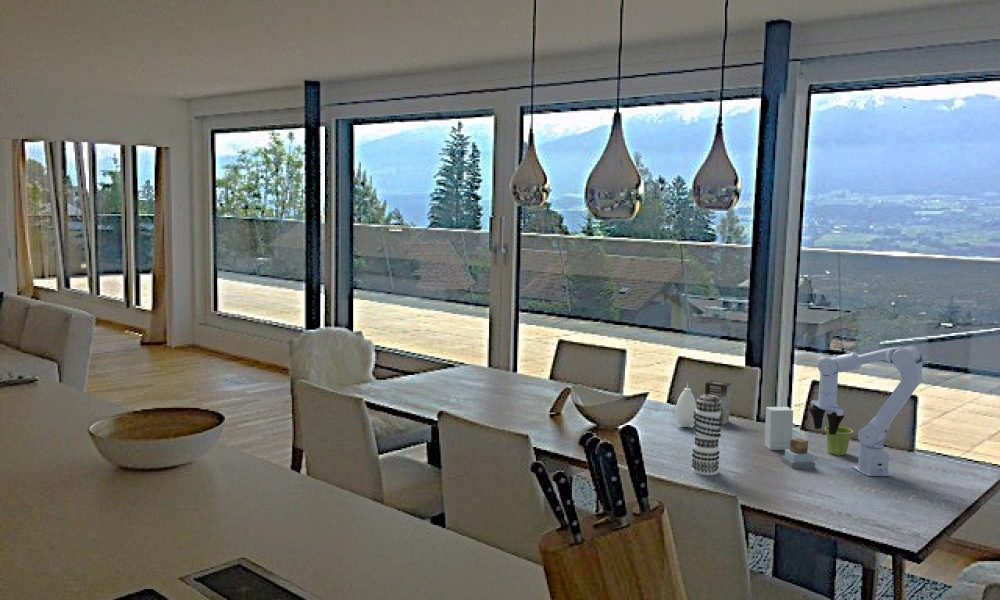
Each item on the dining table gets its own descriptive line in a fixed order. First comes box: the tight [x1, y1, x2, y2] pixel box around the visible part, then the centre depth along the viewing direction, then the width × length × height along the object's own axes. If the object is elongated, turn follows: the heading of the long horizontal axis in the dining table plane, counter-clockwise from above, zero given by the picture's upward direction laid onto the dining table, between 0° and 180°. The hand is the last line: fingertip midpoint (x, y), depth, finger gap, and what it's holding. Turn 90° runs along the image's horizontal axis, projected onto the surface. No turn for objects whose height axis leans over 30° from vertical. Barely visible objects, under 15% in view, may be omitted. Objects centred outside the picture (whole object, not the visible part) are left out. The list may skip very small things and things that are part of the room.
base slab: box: [780, 455, 816, 469], centre depth 285 cm, size 8×8×2 cm
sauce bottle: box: [675, 381, 697, 428], centre depth 330 cm, size 8×8×18 cm
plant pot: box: [824, 426, 854, 456], centre depth 300 cm, size 9×9×9 cm
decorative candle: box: [691, 393, 723, 476], centre depth 273 cm, size 9×9×25 cm
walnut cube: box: [790, 437, 809, 454], centre depth 284 cm, size 4×4×4 cm
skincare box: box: [764, 406, 794, 451], centre depth 304 cm, size 8×6×15 cm
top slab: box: [784, 449, 813, 462], centre depth 284 cm, size 6×6×2 cm
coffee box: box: [704, 379, 732, 425], centre depth 341 cm, size 9×6×16 cm
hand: (825, 431), depth 289 cm, fingers open, 7 cm apart
